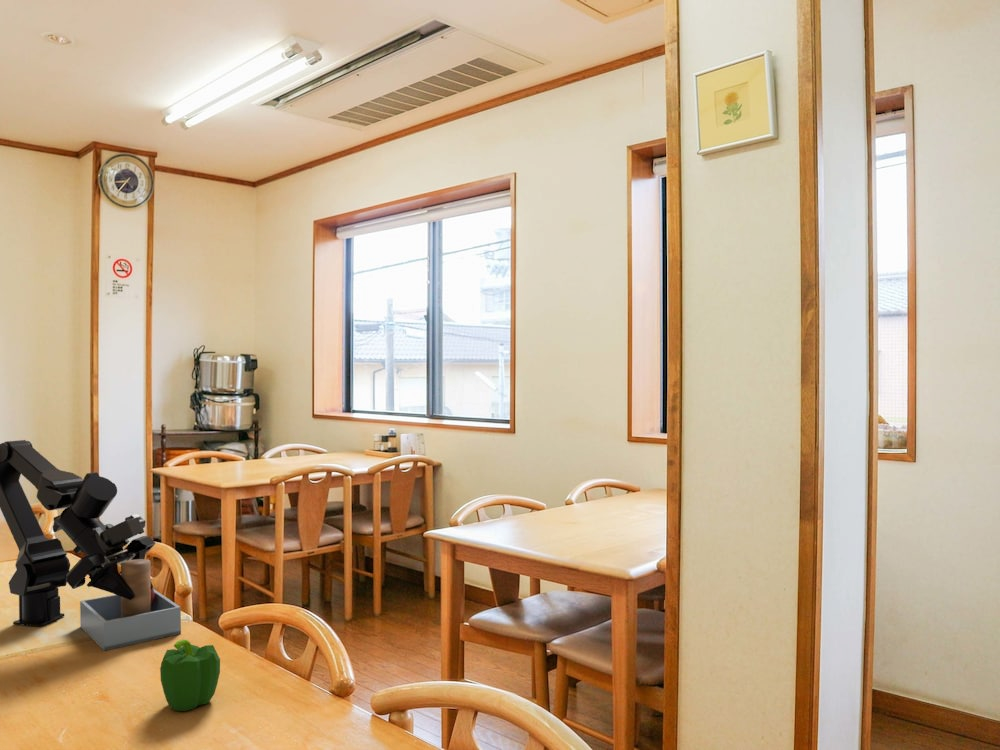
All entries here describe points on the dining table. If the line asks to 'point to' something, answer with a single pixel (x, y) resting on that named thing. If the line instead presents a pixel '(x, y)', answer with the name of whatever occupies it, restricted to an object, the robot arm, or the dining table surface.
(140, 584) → the canister
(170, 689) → the bell pepper
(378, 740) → the dining table surface
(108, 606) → the tote
